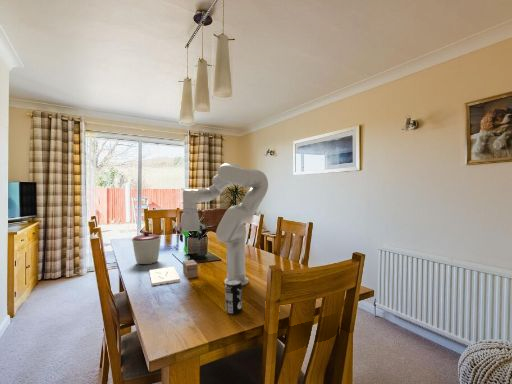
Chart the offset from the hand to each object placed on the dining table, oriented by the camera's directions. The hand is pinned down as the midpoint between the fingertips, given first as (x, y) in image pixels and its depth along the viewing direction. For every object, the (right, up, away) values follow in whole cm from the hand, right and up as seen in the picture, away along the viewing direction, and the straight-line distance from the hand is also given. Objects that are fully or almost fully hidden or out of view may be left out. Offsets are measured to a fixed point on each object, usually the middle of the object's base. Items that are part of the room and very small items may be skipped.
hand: (190, 240), depth 155 cm
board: (-14, -20, -3) cm, 24 cm away
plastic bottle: (-11, -18, +46) cm, 50 cm away
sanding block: (0, -19, 0) cm, 19 cm away
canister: (-35, -19, +26) cm, 48 cm away
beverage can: (+28, -20, -46) cm, 58 cm away
